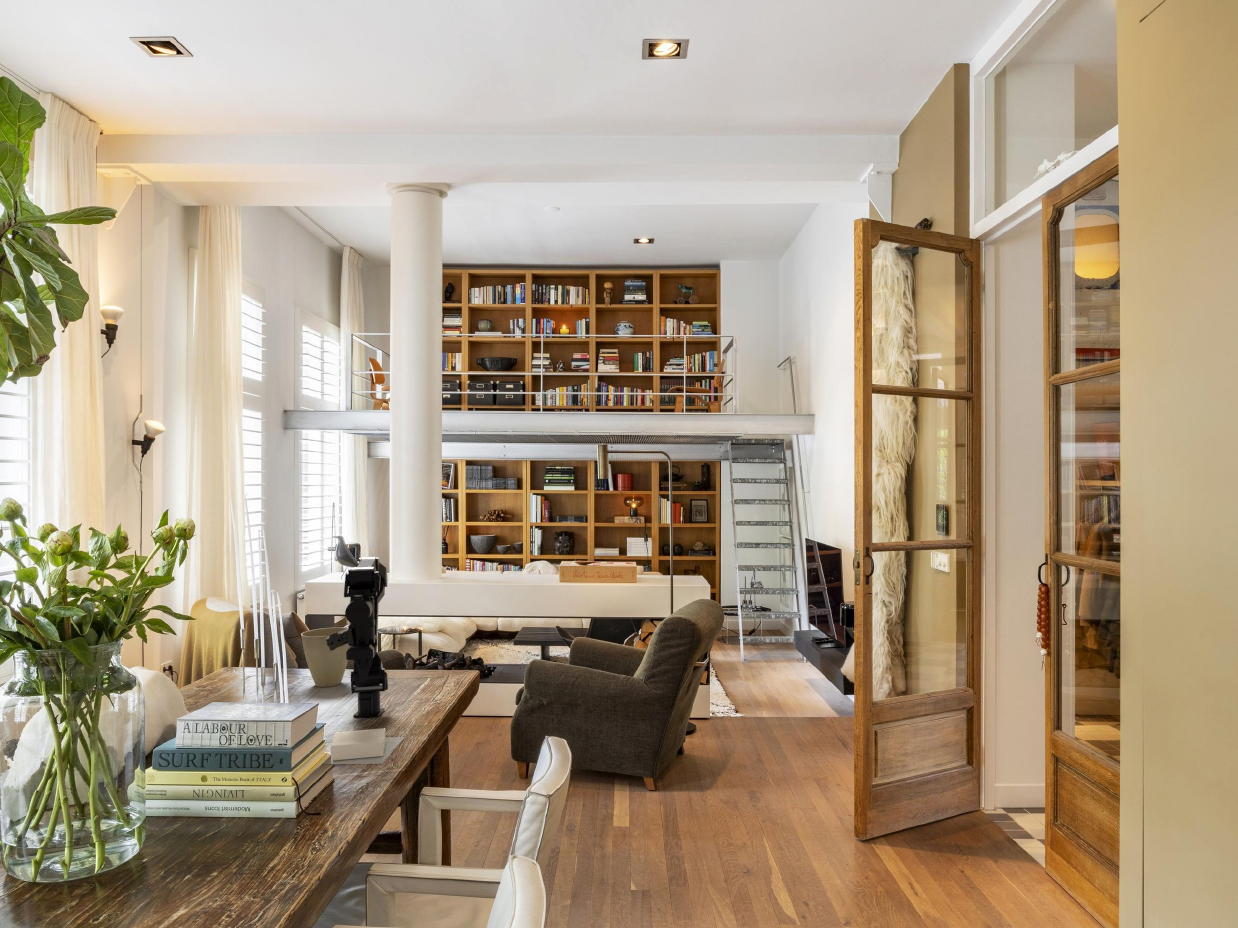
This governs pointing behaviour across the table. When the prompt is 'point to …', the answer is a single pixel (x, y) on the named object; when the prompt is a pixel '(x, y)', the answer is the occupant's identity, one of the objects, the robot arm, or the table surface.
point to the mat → (389, 747)
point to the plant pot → (324, 657)
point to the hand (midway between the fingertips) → (362, 681)
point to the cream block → (358, 744)
